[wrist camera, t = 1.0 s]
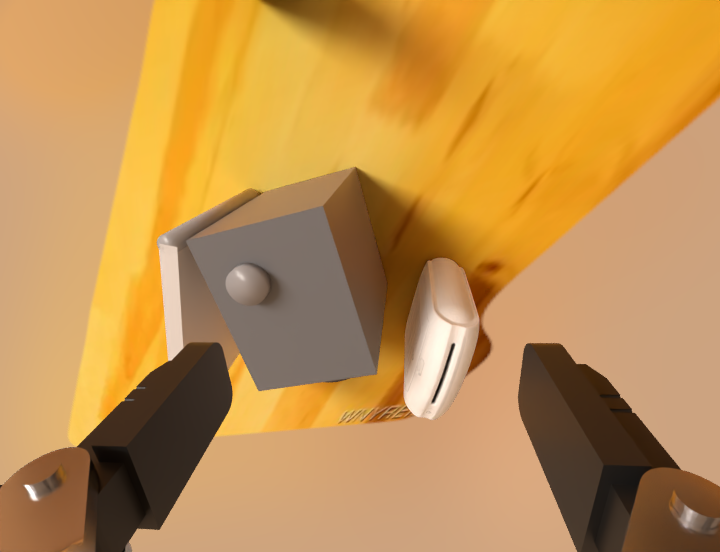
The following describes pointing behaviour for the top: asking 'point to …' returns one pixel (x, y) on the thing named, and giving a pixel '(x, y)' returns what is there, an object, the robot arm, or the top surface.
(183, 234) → the side door
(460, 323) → the photo printer
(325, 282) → the block
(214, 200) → the top surface
